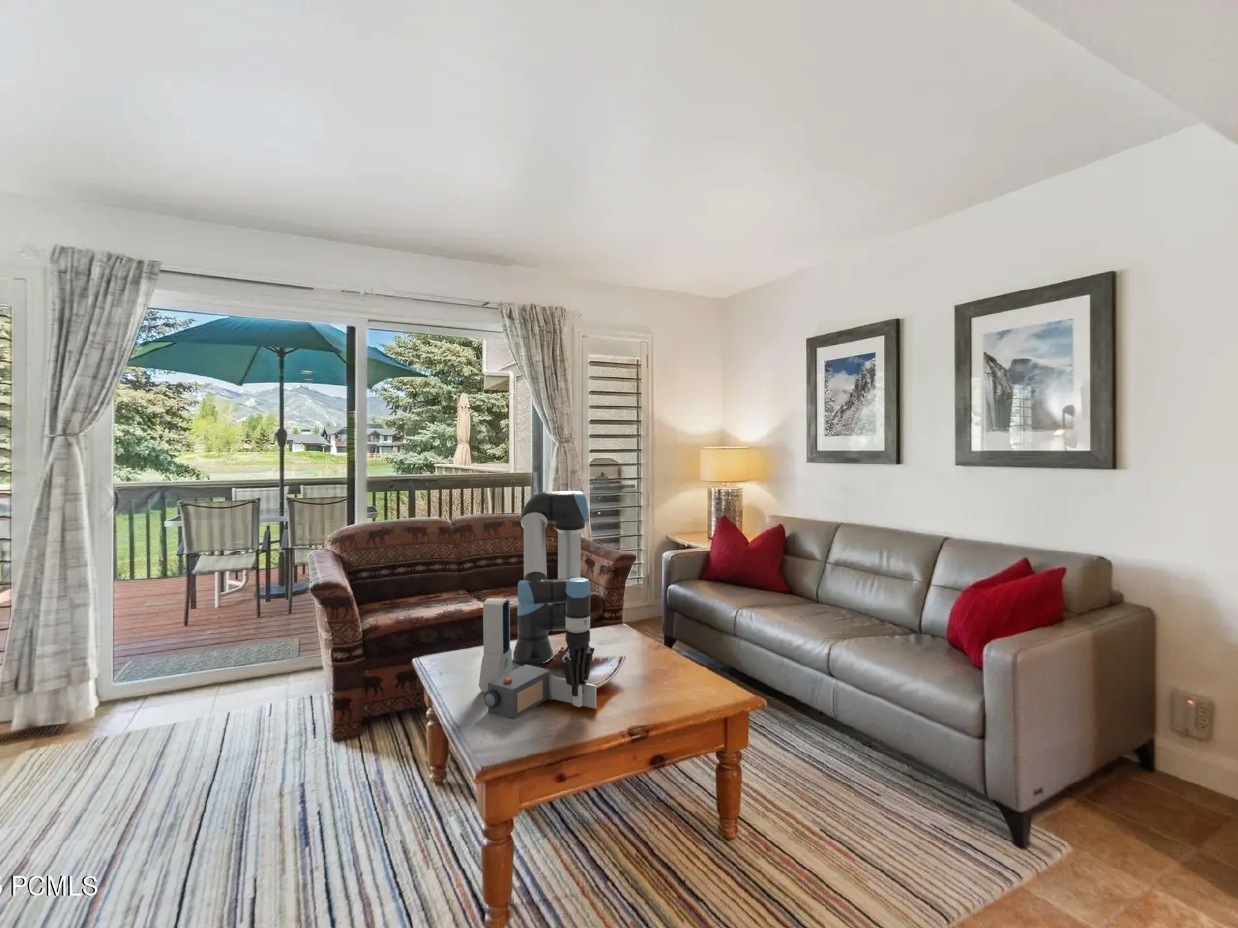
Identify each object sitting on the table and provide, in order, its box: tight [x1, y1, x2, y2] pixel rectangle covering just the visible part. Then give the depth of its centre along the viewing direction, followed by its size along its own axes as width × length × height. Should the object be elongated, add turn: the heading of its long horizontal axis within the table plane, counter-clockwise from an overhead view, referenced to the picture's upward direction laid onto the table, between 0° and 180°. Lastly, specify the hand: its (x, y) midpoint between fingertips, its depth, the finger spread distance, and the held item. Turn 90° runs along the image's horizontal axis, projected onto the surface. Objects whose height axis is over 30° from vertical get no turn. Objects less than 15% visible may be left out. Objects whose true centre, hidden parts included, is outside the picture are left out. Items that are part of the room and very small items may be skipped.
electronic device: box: [478, 597, 513, 694], centre depth 204 cm, size 12×8×30 cm, turn 168°
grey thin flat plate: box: [549, 674, 597, 709], centre depth 192 cm, size 17×2×7 cm, turn 63°
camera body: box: [483, 664, 551, 720], centre depth 190 cm, size 20×10×10 cm, turn 149°
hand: (577, 705), depth 187 cm, fingers closed
